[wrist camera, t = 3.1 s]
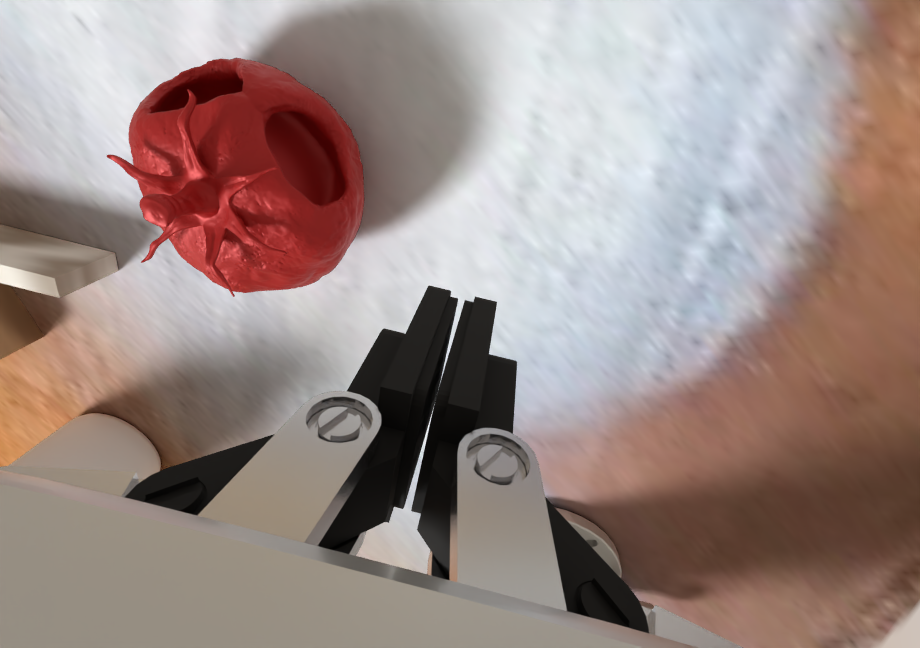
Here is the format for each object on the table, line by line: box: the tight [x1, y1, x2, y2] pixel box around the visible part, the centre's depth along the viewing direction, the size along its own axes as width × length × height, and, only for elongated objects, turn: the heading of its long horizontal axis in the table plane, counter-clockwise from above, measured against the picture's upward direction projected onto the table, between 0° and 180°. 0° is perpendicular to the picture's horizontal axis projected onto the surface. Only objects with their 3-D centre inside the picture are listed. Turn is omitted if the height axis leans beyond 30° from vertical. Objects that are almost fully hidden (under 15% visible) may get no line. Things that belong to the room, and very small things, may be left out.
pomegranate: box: [107, 58, 364, 297], centre depth 20 cm, size 10×10×9 cm
